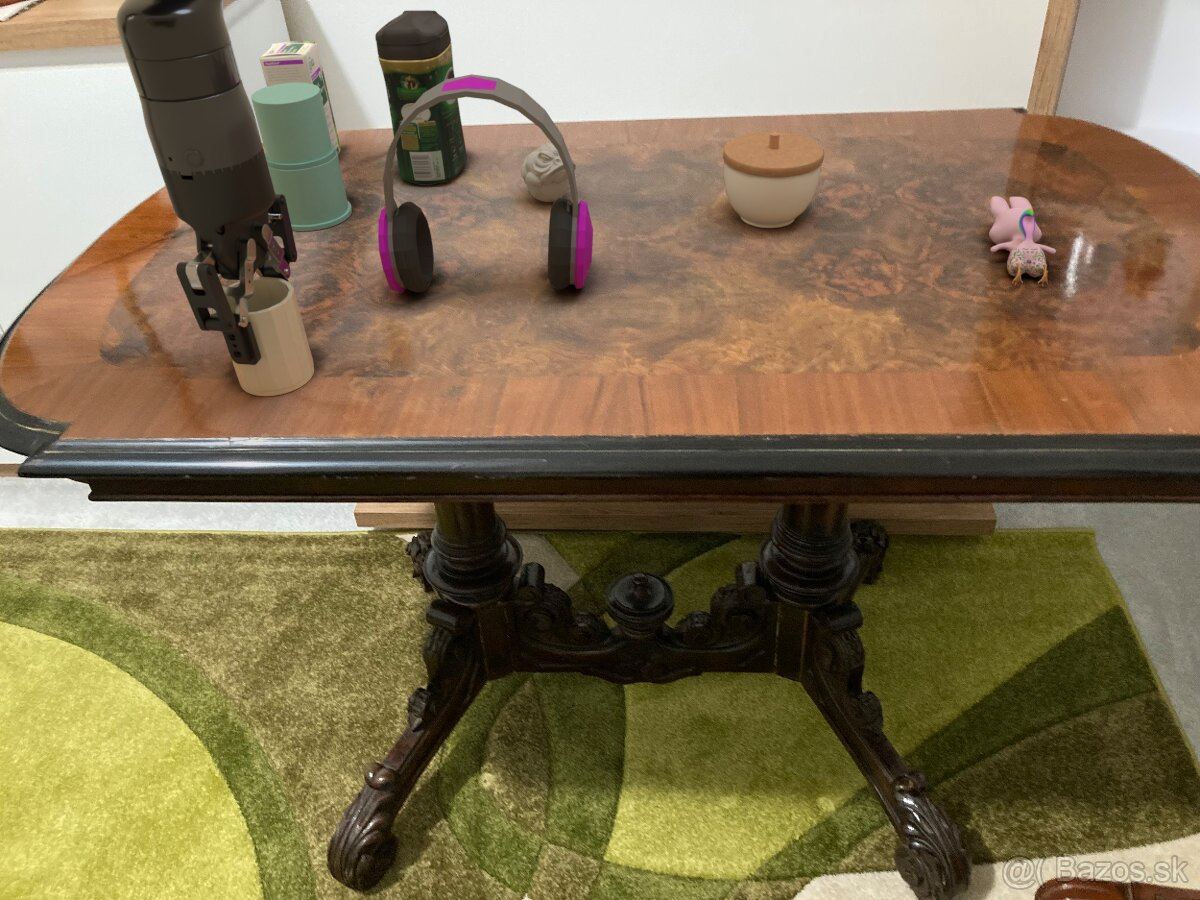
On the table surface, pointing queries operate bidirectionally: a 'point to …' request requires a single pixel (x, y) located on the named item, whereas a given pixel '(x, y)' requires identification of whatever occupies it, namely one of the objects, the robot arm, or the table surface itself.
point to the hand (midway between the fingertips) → (266, 339)
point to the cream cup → (275, 340)
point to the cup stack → (301, 155)
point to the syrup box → (299, 73)
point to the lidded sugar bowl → (771, 176)
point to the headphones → (408, 228)
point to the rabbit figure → (1018, 237)
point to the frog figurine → (545, 174)
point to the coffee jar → (410, 68)
